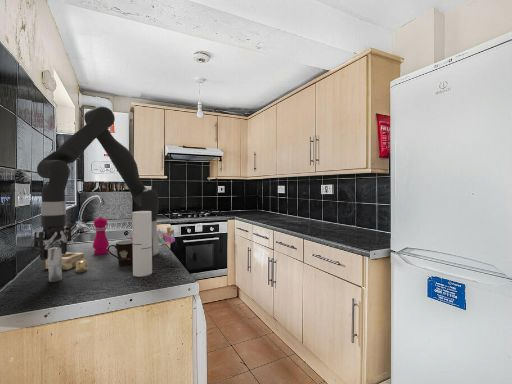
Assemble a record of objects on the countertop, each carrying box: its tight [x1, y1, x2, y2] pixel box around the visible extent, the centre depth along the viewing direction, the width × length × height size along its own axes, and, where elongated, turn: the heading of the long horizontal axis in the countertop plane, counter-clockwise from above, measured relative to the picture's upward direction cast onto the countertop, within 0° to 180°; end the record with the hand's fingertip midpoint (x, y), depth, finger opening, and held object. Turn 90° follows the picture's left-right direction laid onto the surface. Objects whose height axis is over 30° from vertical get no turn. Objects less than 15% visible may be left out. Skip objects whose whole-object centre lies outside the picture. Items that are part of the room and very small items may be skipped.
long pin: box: [47, 246, 63, 283], centre depth 103 cm, size 4×4×12 cm
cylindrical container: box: [131, 210, 153, 277], centre depth 110 cm, size 7×7×25 cm
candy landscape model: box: [130, 226, 176, 247], centre depth 167 cm, size 25×24×9 cm
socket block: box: [45, 251, 86, 270], centre depth 121 cm, size 10×10×4 cm
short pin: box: [75, 259, 88, 273], centre depth 114 cm, size 4×4×4 cm
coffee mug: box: [107, 239, 133, 267], centre depth 123 cm, size 12×9×10 cm
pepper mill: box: [92, 214, 110, 256], centre depth 141 cm, size 7×7×20 cm
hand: (54, 256), depth 102 cm, fingers open, 8 cm apart
